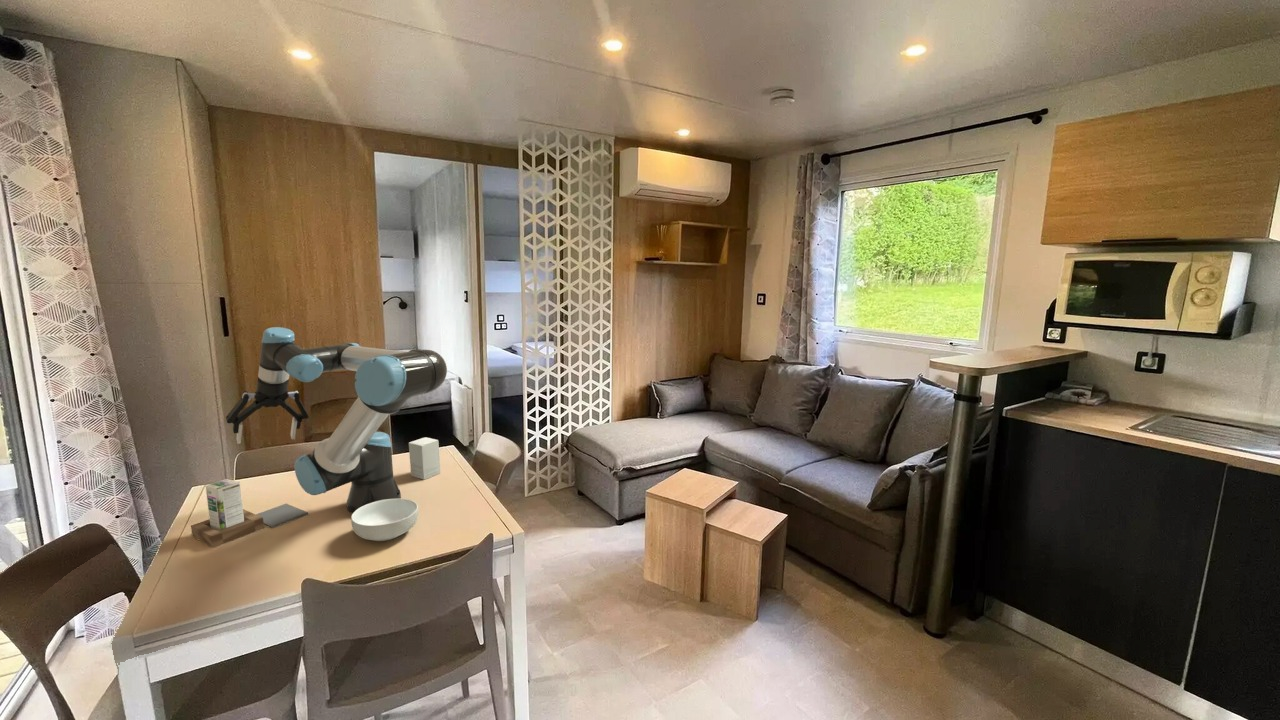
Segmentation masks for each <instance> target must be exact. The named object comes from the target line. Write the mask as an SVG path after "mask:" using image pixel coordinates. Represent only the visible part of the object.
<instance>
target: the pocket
mask: <svg viewBox="0 0 1280 720" xmlns="http://www.w3.org/2000/svg"><path fill="white" fill-rule="evenodd" d="M243 514H244V522H241V523H238V524H235V525H233V526H230V527H227V528H224V529H222V530H219V531H217V530H215V529H213V528H211V526H210V519H205V520H203V521H200V522H196V523H193V524H191V525H190V529H191V535H192V538H194V539H197V540H198V541H200V542H202V543H204V544H205V545H207V546H210V547H211V548H213V549H214V548H217V547H220V546H222V545H224V544H228V543H230V542H232V541H235V540H238V539H239V538H243V537H246V536H248V535H250V534H253V533H256V532H259V531H261V530H263V529H265V525H264V522H263V518H262V517H260V516H258V515H256V514H257V513H252V511H249V510H246V509H244V508H243Z"/></svg>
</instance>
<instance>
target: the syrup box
mask: <svg viewBox="0 0 1280 720" xmlns="http://www.w3.org/2000/svg"><path fill="white" fill-rule="evenodd" d="M241 492H242V491H241V483H240V481H235V480H232V479H229V478H226V479H222V480H218V481H214V482H212V483H209V484H207V485H205V493H206V501H207V509H208V518H209V519H210V526H211V528H213V529H215V530H217V531H219V530H222V529H224V528H227V527H230V526H233V525H235V524H238V523H241V522H244V514H243V509H244V507H243V499H242V493H241Z"/></svg>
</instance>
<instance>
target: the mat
mask: <svg viewBox="0 0 1280 720" xmlns="http://www.w3.org/2000/svg"><path fill="white" fill-rule="evenodd" d="M255 514H256V515H258V516H260V517H262V518H263V522H264V527H265V526H266V527H268V528H270V529H274V528H278V527H279V526H281V525H284V524H288V523H290V522H293V521H295V520H298V519H300V518H302V517H304V516H308V515H309V511H307V510H303V509H301V508H299V507H296V506H293V505H290V504H288V503H284V504H281V505H279V506H275V507H273V508H270V509H267V510H264V511H262V512H259V513H255Z"/></svg>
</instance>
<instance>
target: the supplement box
mask: <svg viewBox="0 0 1280 720" xmlns="http://www.w3.org/2000/svg"><path fill="white" fill-rule="evenodd" d="M439 444H440V443H439V439H435V438H431V437H421V438H419V439H416V440H412V441H410V442H408V451H409V463H410V465H409V466H410V467H409V468H410V476H411V477H414V478H417V479H420V480H426V479H430V478H432V477H435V476H438V475H441V459H440V447H439Z"/></svg>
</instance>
